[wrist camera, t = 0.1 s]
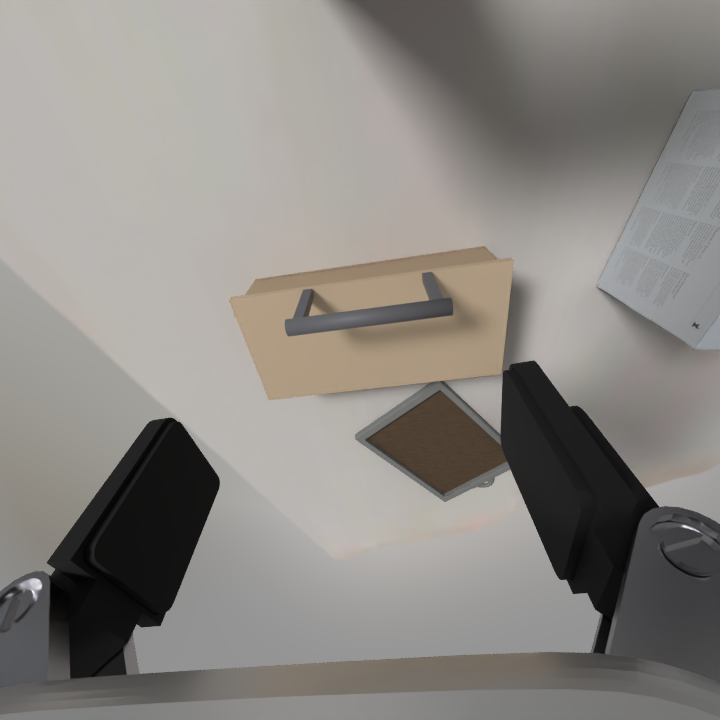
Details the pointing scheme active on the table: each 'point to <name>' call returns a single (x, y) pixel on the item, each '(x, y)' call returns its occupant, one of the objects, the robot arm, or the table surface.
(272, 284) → the mailer box
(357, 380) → the lid
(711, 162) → the skincare box
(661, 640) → the robot arm
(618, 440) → the table surface
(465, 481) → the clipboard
